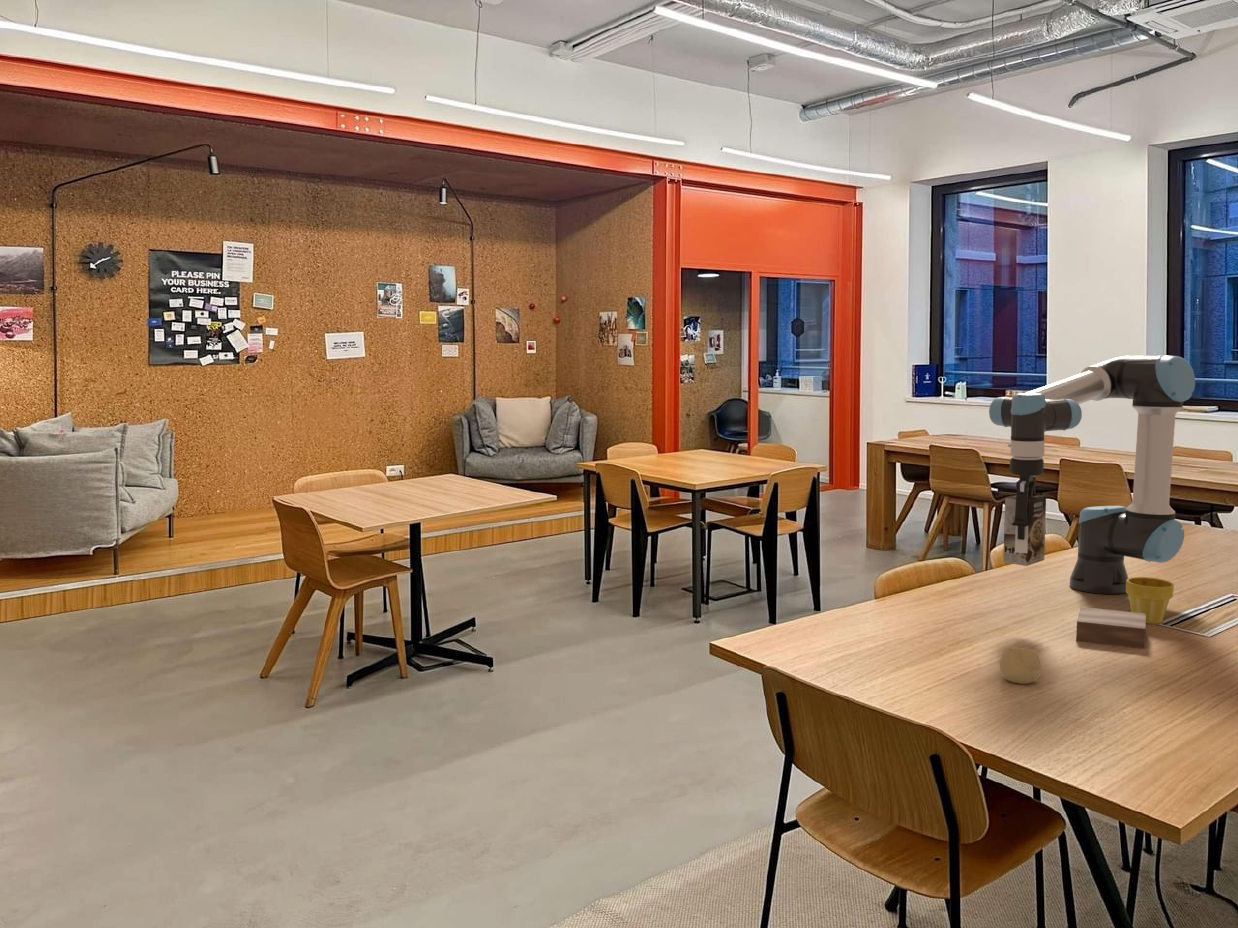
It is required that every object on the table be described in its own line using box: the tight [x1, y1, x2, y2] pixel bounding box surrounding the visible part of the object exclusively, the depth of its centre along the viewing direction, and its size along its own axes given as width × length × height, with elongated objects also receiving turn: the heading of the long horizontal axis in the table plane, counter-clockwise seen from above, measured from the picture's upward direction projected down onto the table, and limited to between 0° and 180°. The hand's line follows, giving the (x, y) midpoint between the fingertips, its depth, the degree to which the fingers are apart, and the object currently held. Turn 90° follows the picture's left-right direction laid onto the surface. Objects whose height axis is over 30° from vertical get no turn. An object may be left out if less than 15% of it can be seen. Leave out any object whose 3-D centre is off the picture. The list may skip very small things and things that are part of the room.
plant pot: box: [1125, 576, 1175, 625], centre depth 244 cm, size 10×10×10 cm
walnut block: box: [1075, 606, 1147, 650], centre depth 232 cm, size 14×14×5 cm
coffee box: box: [1002, 494, 1047, 567], centre depth 241 cm, size 9×6×16 cm
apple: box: [999, 647, 1042, 685], centre depth 202 cm, size 8×8×8 cm
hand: (1024, 548), depth 241 cm, fingers closed on coffee box, 10 cm apart
